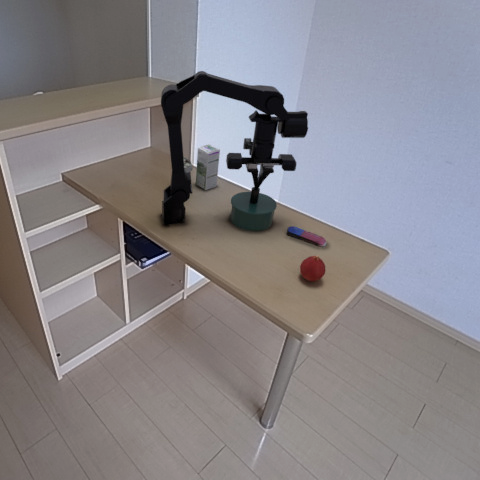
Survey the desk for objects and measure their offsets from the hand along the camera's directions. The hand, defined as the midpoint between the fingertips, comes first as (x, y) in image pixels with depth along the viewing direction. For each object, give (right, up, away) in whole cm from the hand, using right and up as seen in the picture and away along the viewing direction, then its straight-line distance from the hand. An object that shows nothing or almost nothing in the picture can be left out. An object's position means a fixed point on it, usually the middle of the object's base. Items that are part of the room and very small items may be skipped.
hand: (256, 188), depth 109 cm
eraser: (+14, -15, -1) cm, 21 cm away
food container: (-20, +3, +24) cm, 32 cm away
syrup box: (-12, +5, +27) cm, 29 cm away
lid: (0, -4, +3) cm, 5 cm away
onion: (+9, -25, -16) cm, 32 cm away
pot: (0, -9, +7) cm, 11 cm away
